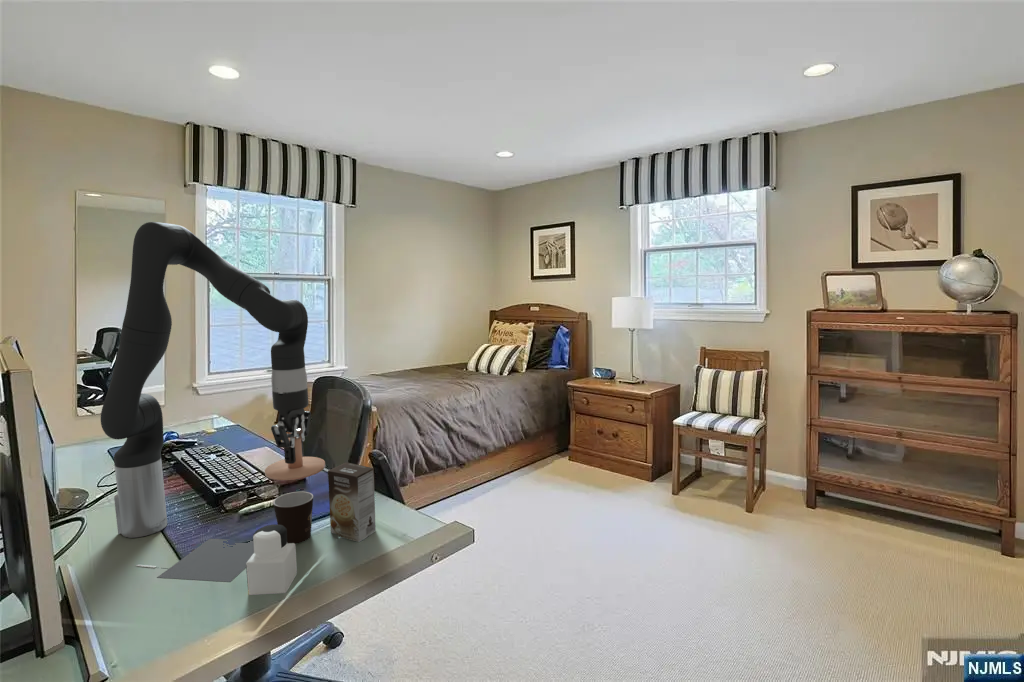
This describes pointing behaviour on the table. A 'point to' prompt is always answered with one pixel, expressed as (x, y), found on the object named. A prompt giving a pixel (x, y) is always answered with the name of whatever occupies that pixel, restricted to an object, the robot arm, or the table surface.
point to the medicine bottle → (271, 561)
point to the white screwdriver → (149, 566)
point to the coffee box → (352, 501)
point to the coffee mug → (295, 515)
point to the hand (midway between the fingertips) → (294, 459)
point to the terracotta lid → (295, 466)
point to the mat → (212, 562)
